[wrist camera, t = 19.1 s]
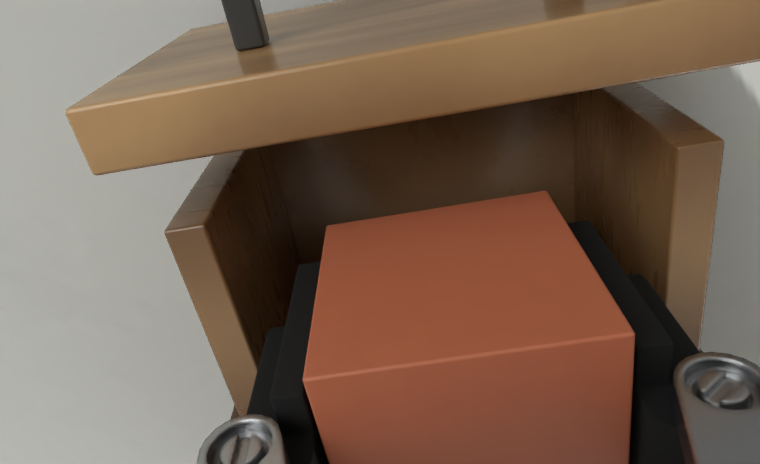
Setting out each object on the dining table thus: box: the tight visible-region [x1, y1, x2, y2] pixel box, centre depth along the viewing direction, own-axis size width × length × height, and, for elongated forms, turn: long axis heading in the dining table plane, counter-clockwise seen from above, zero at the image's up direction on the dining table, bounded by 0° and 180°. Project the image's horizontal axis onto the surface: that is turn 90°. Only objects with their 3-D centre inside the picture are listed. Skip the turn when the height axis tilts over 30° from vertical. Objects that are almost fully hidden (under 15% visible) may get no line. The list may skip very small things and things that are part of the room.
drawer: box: [66, 0, 760, 416], centre depth 14 cm, size 19×11×7 cm, turn 10°
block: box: [303, 191, 635, 464], centre depth 11 cm, size 4×4×4 cm
